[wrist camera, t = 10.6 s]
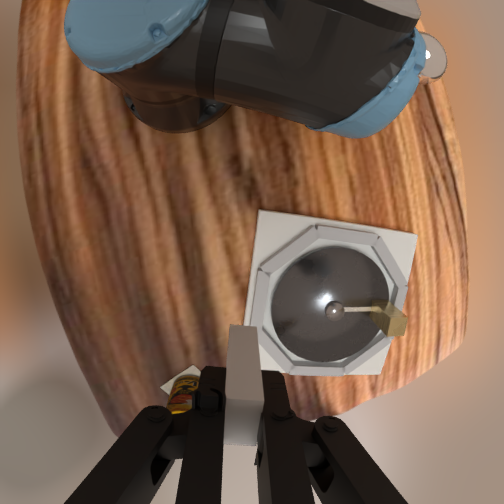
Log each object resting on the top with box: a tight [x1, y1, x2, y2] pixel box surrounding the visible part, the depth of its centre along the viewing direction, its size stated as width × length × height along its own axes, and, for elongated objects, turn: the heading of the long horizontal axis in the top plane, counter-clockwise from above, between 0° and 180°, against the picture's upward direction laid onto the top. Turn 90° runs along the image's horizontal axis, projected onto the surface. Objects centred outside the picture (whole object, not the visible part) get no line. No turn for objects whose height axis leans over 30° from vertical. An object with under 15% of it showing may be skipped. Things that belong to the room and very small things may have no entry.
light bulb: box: [418, 31, 447, 84], centre depth 31 cm, size 7×7×12 cm
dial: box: [271, 246, 408, 362], centre depth 37 cm, size 16×16×7 cm
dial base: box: [243, 209, 418, 376], centre depth 41 cm, size 22×22×4 cm
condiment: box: [161, 365, 201, 414], centre depth 40 cm, size 7×8×12 cm
